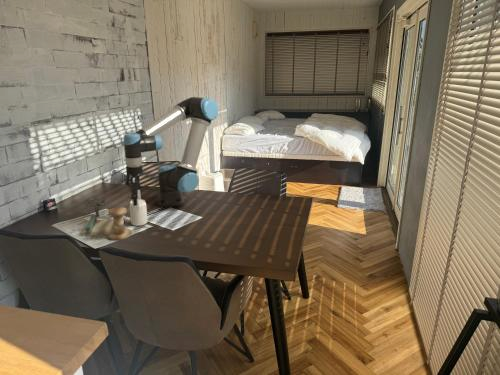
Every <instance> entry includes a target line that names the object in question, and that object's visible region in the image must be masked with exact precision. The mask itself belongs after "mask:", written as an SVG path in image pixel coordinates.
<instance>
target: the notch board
mask: <svg viewBox="0 0 500 375" xmlns="http://www.w3.org/2000/svg"><path fill="white" fill-rule="evenodd" d="M97 218H98V217H96V214H92V215H91V216H90V217H89V220H88V222H87V223H86V226H85V227H84V228H85V232H84V235H85V237H86V236H87V237H89V236H90V237H91V236H100V235H109V232H111V231H113V230H114V221H113V218H110V219H97ZM123 220H124V221H125V218H124V217H123Z"/></svg>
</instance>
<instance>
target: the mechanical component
mask: <svg viewBox="0 0 500 375" xmlns="http://www.w3.org/2000/svg"><path fill="white" fill-rule="evenodd" d="M85 201H86V204H87V206H88V207H93V210H94V212H95V215H96V218H98V217H99V216H100V214H99V209H100V208H101V207H103V206H104V205H105V203H106V201H105V199H103V198H102V199H99V198H98V197H88V198H86V199H85Z"/></svg>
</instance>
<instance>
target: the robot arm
mask: <svg viewBox="0 0 500 375" xmlns="http://www.w3.org/2000/svg"><path fill="white" fill-rule="evenodd" d="M218 115H219V108H218V104H217V102H216V100H214V99H213V98H209V97H197V96H192V97H191V96H190V97H188V98H186V99H184V100H182V101H180V102H178V103H177V104H175V105H173V109H171V110H169V111H167V112H166V113H164V114H163V115H161V116H159V118H156V119H155V120H153V121H151V122H150V123H149V124H147V125H146V126H143V127H142V128H140V129H139V130H137V131H135V132H134V131H132V132H129V133H125V134H124V136H123V148H124V159H123V161H124V162H125V165H126V167H125V170H126V172H125V173H126V175H130V186H131V188H130V189H131V197H130V200H131V201H132V203H133V212H134V211H139V203H138V199H142V197H141V190H142V187H141V185H140V184H141V183H140V176H139V175H141V174H142V173H143V165H142V164H143V160H142V159H143V158H142V157H143V156H142V153H146V152H153V151H154V152H157V151H159V150H161V149H162V148H163V145H164V142H163V139H162V137H161V135H160V134H162V133H164V132H166V130H169V129H170V128H171V127H173V126H175V125H176V124H177V123H179V122H181V121H186V120H187V119H190V120H191V125H190V129H189V133H188V136H187V138H186V139H187V140H186V143H185V147H184V150H183V154H182V157H181V161H180V163H179V164H166V165H164V164H163V165H161V166H159V167H158V170H157V171H158V172H157V176H158V184H159V185H158V186H159V193H158V197H157V200H156V201H157V205H158V206H159V207H163V208H174V207H177V206H178V207H179V206H181V205H183V204H184V198H183V195H182V193H192V192H193V191H195V189H197V187H198V186H199V182H200V179H199V176H198V170H197V164H198V160H199V157H200V153H201V150H202V146H203V142H204V138H205V135H206V132H207V128H208V127H209V126H211V123H212V121H213V120H216V119H217V117H218Z"/></svg>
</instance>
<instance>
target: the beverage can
mask: <svg viewBox="0 0 500 375" xmlns="http://www.w3.org/2000/svg"><path fill="white" fill-rule="evenodd" d="M138 203H139V211H134V212H133V203H132V200H130V201H129V204H128V205H129V213H130V214H129V215H130V224H131V225H132V226H135V227H141V226H144V225H146V224H147V223H148V221H149V220H148V211H147V210H148V209H147V208H148V207H147V203H146V200H145V199H142V198H141V199H138Z"/></svg>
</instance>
